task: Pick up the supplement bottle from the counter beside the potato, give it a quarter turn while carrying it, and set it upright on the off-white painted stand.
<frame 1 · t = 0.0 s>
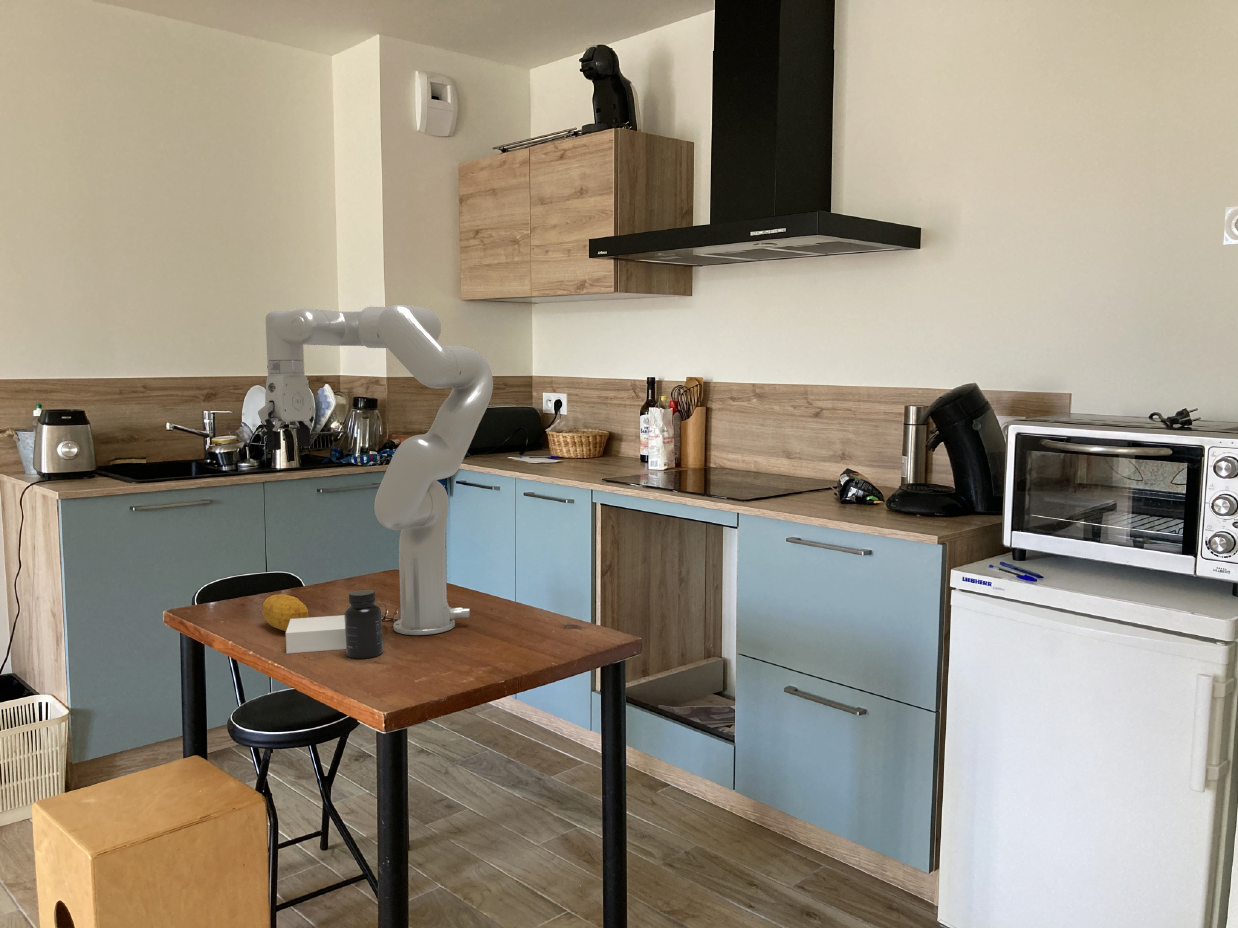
hand: (289, 448, 208), 37 cm above the table, tool pointing down, fingers open, 9 cm apart
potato: (286, 630, 200), on the table
stand: (318, 643, 189), on the table
supplement bottle: (364, 655, 182), on the table
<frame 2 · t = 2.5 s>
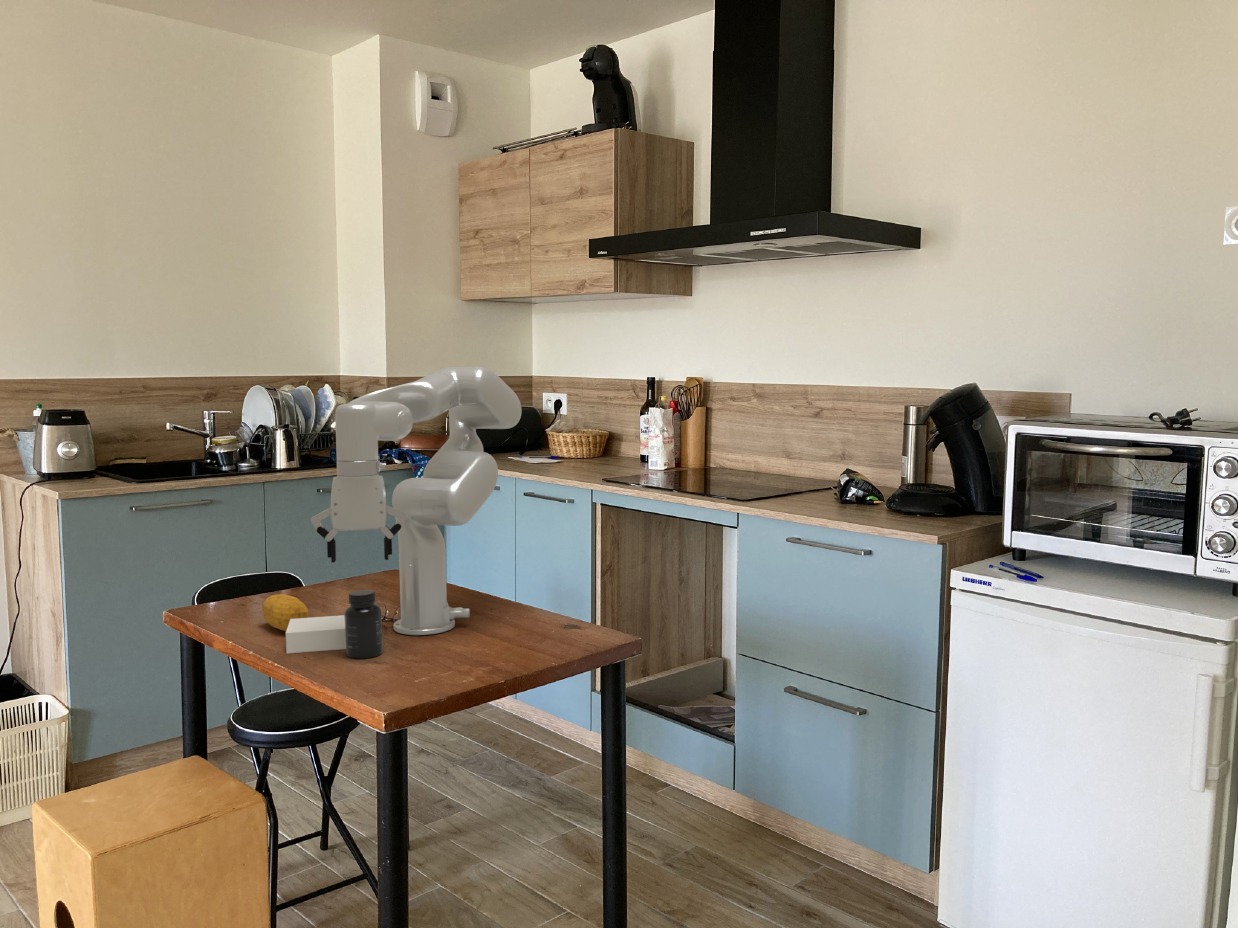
hand: (360, 559, 180), 18 cm above the table, tool pointing down, fingers open, 9 cm apart
nothing on the table moved.
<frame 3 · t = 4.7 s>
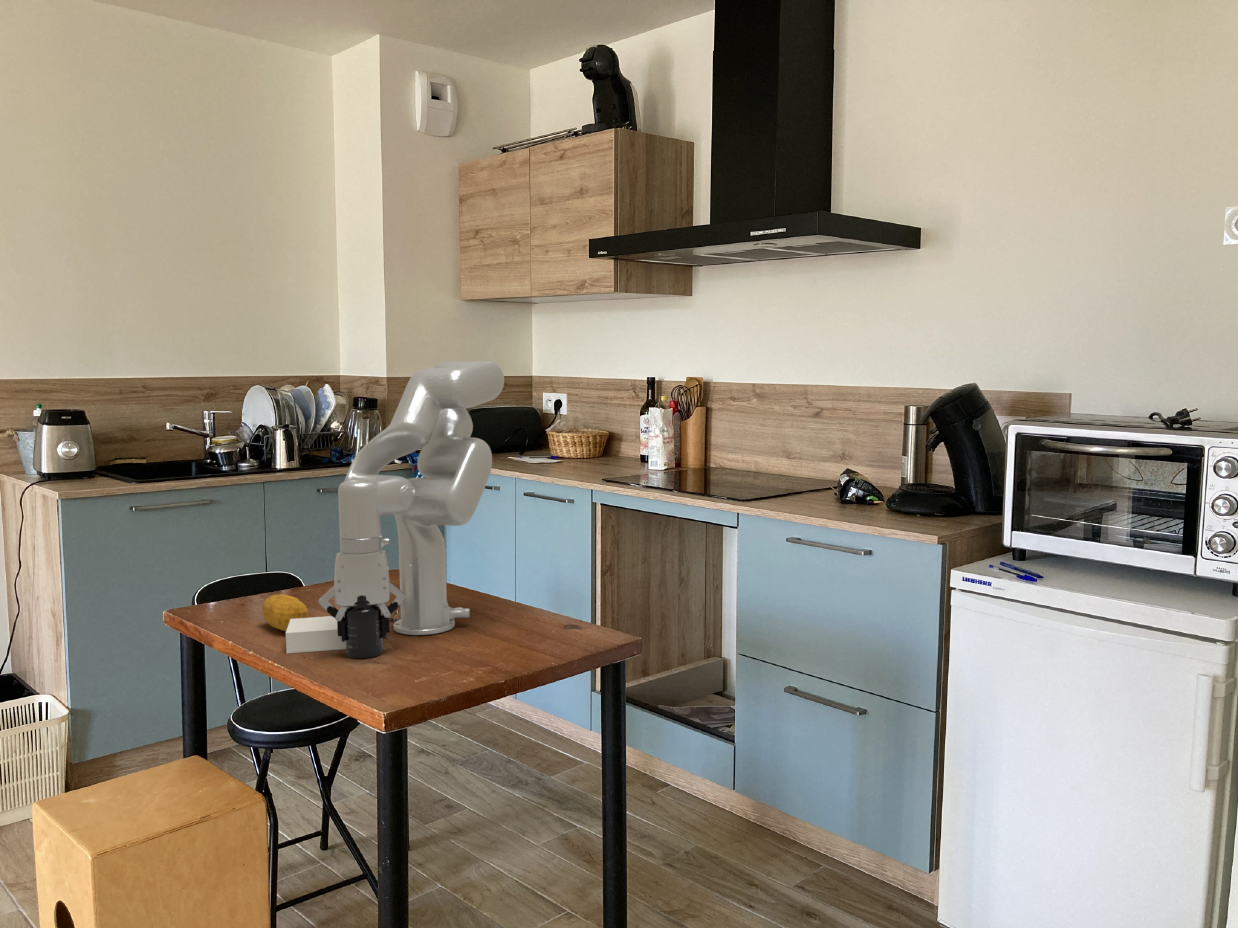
hand: (364, 637, 181), 3 cm above the table, tool pointing down, fingers closed on supplement bottle, 6 cm apart
supplement bottle: (364, 655, 182), on the table, touching gripper
everything else where it was.
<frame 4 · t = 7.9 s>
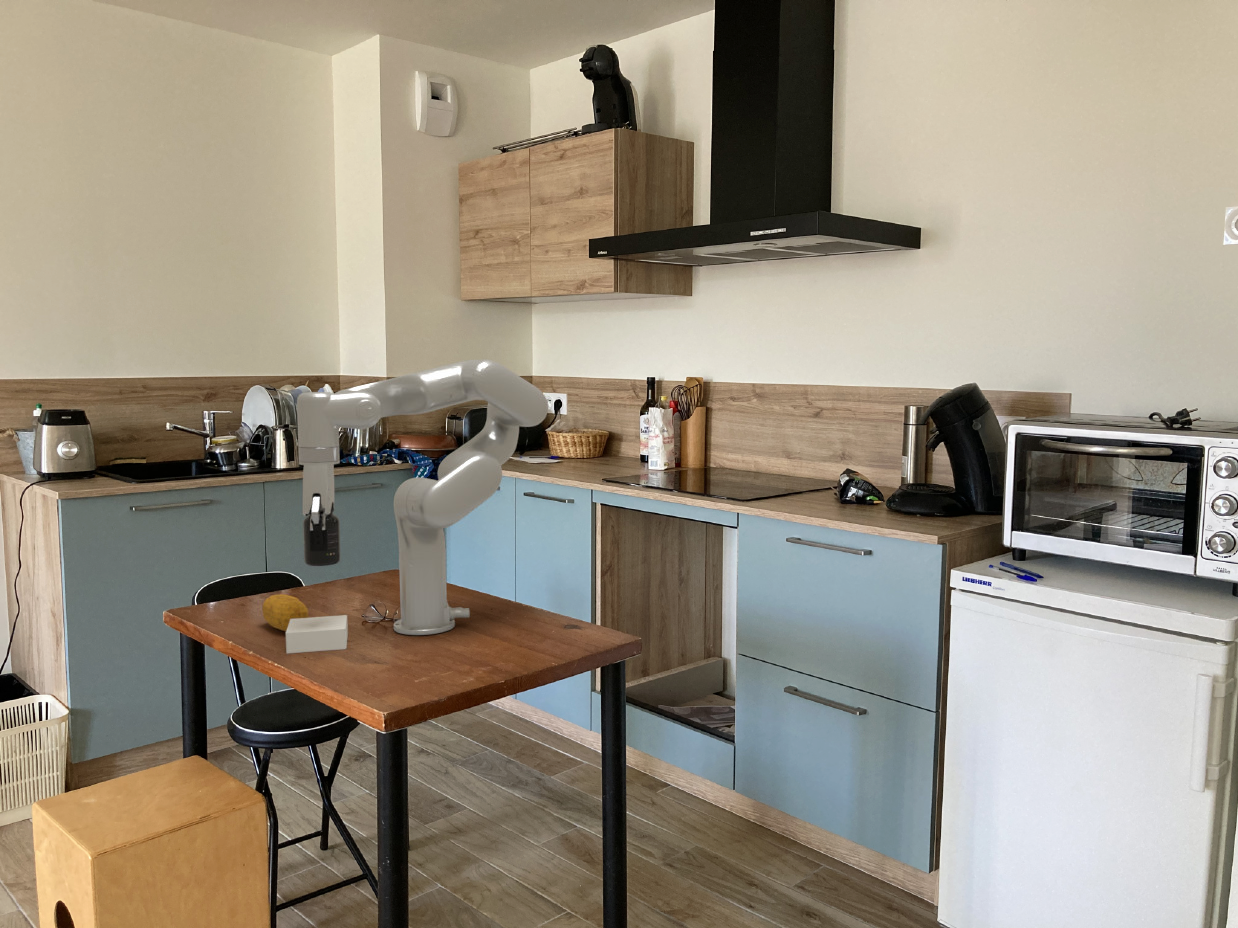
hand: (321, 546, 186), 20 cm above the table, tool pointing down, fingers closed on supplement bottle, 6 cm apart
supplement bottle: (322, 564, 186), point 16 cm above the table, touching gripper
everything else where it was.
when the fingers open (9 cm above the table, at t = 11.1 s): supplement bottle drops 1 cm, resting on stand.
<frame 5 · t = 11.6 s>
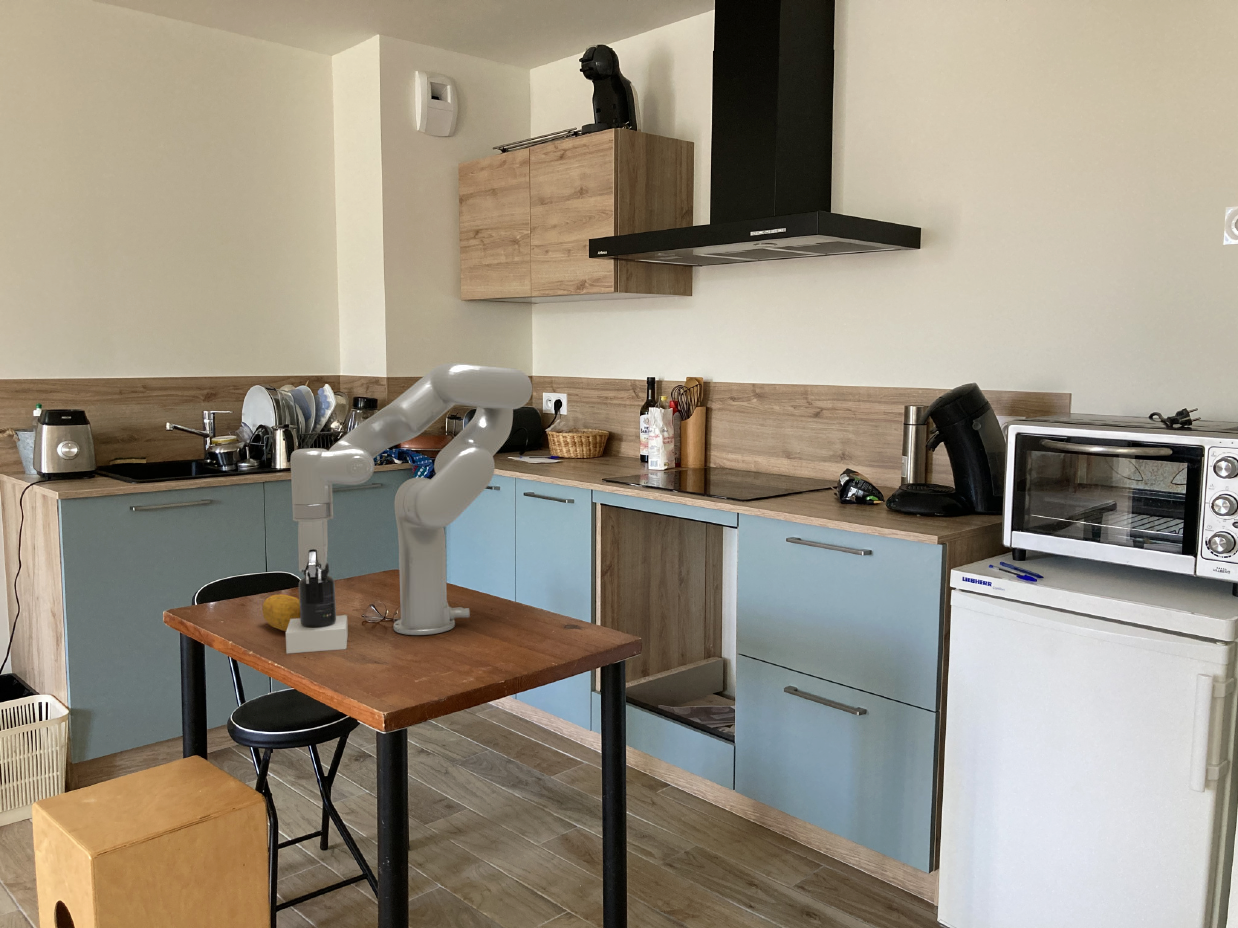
hand: (316, 597, 188), 9 cm above the table, tool pointing down, fingers open, 9 cm apart
supplement bottle: (318, 624, 189), point 4 cm above the table, touching stand
everything else where it was.
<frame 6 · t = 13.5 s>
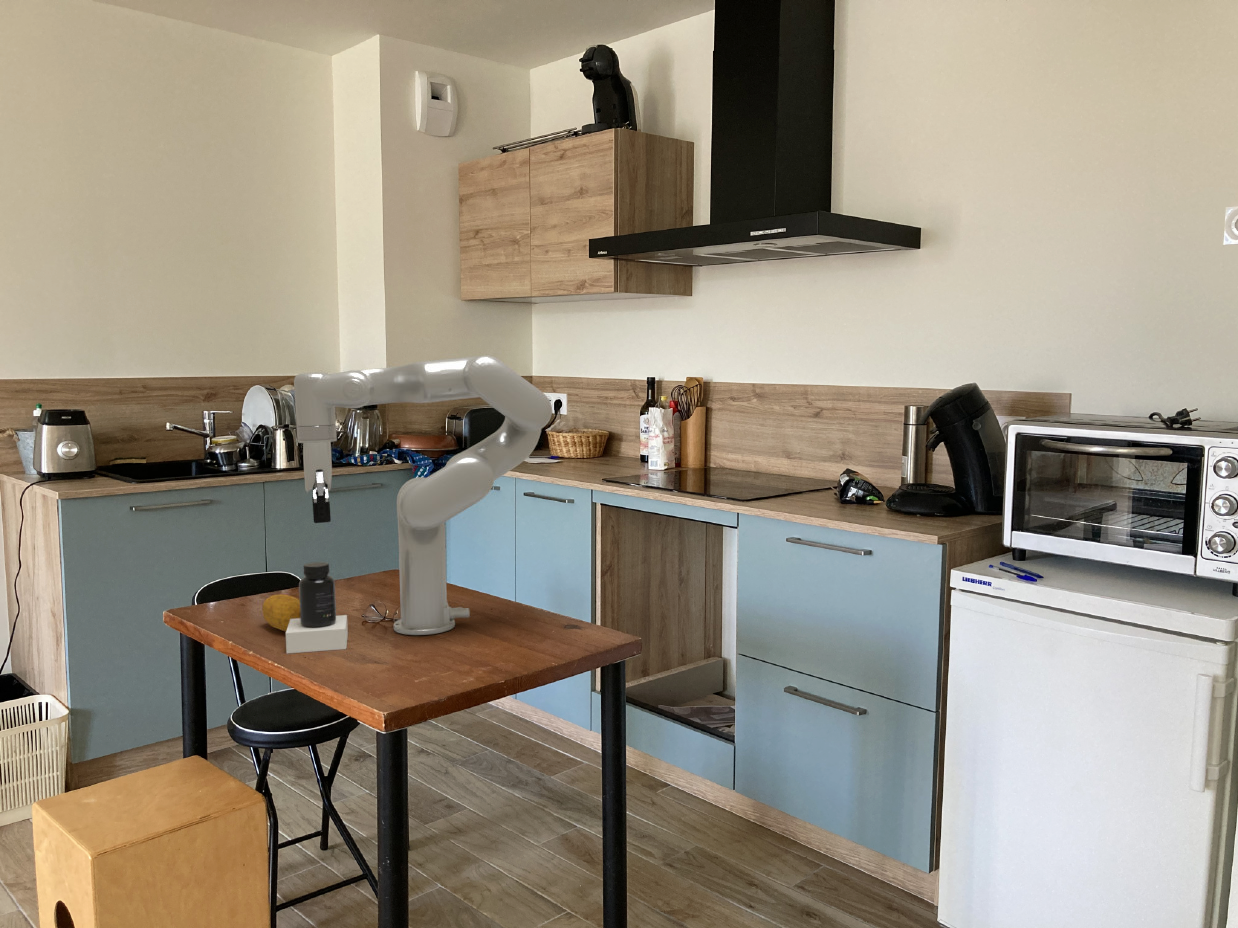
hand: (321, 518, 193), 24 cm above the table, tool pointing down, fingers open, 9 cm apart
nothing on the table moved.
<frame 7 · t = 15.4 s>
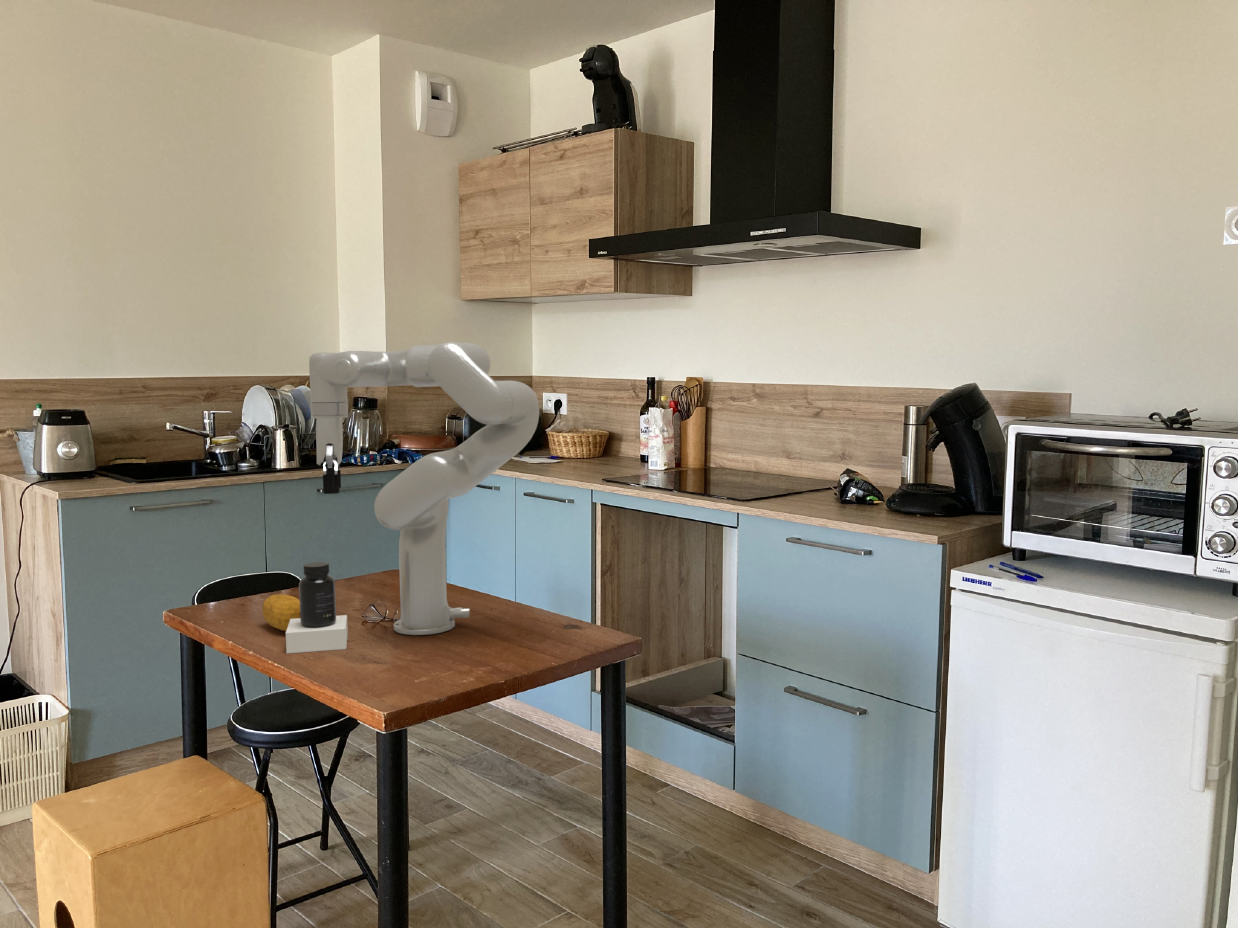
hand: (332, 490, 204), 28 cm above the table, tool pointing down, fingers open, 9 cm apart
nothing on the table moved.
at the end: supplement bottle 0.3 cm off-centre on the stand, point 3.8 cm above the stand's base; supplement bottle tilted 0°; the gripper is holding nothing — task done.
